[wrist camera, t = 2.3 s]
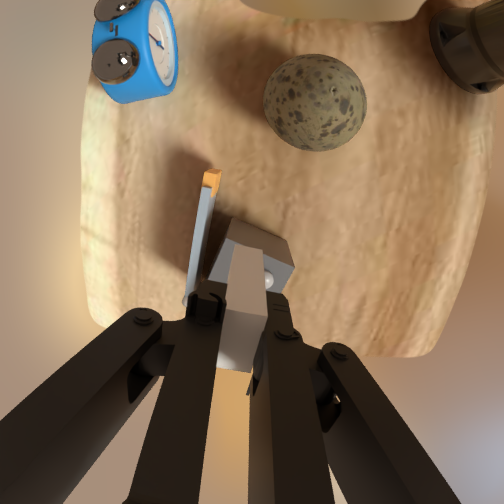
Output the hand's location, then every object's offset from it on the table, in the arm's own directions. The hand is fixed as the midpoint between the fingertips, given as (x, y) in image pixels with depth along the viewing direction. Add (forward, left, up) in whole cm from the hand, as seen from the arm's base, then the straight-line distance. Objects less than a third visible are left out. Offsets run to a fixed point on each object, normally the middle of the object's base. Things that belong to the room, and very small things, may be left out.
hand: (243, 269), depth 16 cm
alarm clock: (-5, -22, -24) cm, 33 cm away
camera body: (+7, +6, -23) cm, 25 cm away
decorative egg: (-13, -3, -24) cm, 27 cm away
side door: (+7, -1, -23) cm, 24 cm away
